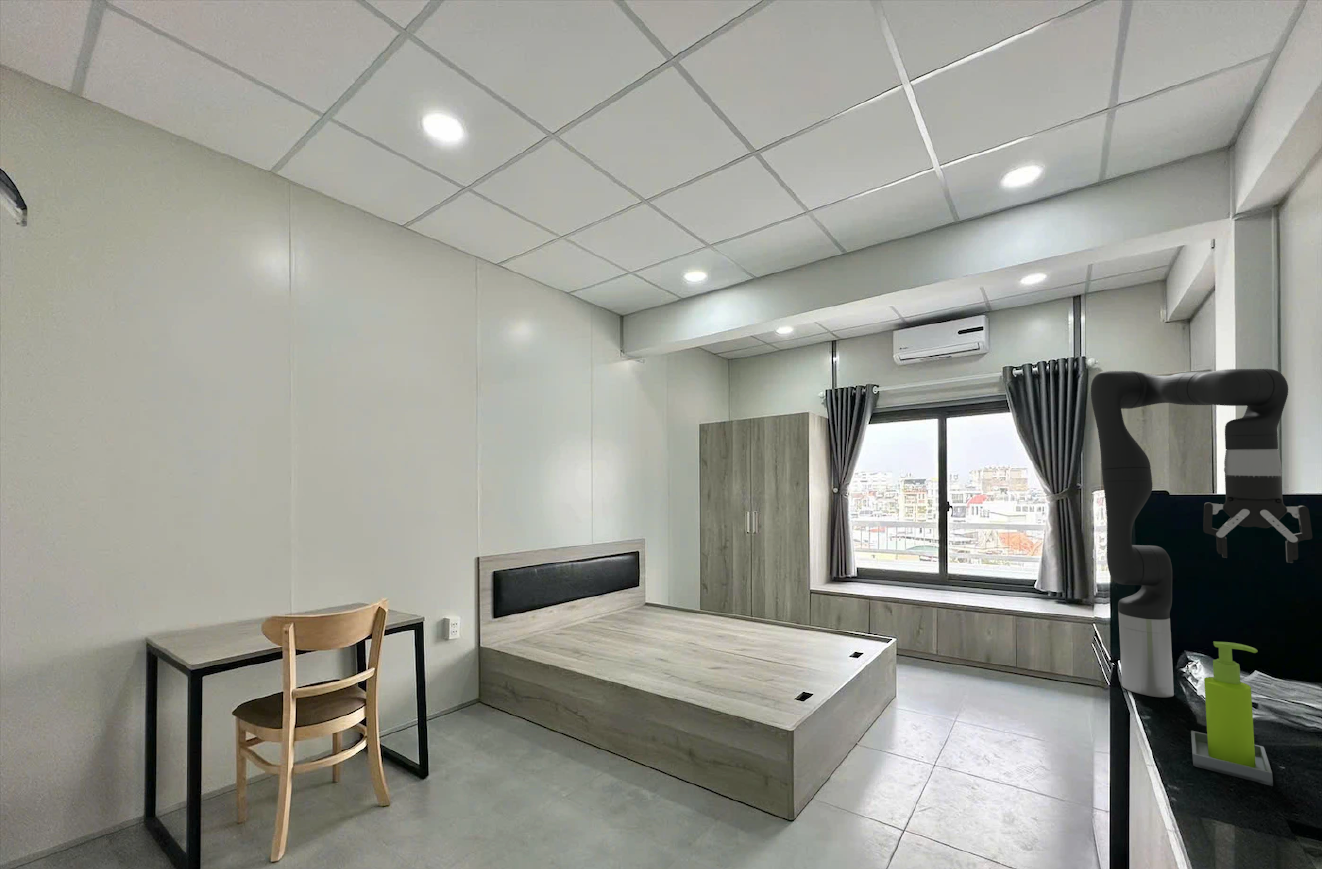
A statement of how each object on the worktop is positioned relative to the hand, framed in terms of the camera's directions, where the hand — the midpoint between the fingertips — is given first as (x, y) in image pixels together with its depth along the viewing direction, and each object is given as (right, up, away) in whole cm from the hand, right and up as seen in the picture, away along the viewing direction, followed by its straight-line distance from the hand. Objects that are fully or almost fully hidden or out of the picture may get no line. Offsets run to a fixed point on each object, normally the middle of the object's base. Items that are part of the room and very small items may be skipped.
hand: (1256, 559), depth 109 cm
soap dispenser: (-12, -33, -8) cm, 37 cm away
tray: (-13, -34, -8) cm, 37 cm away
